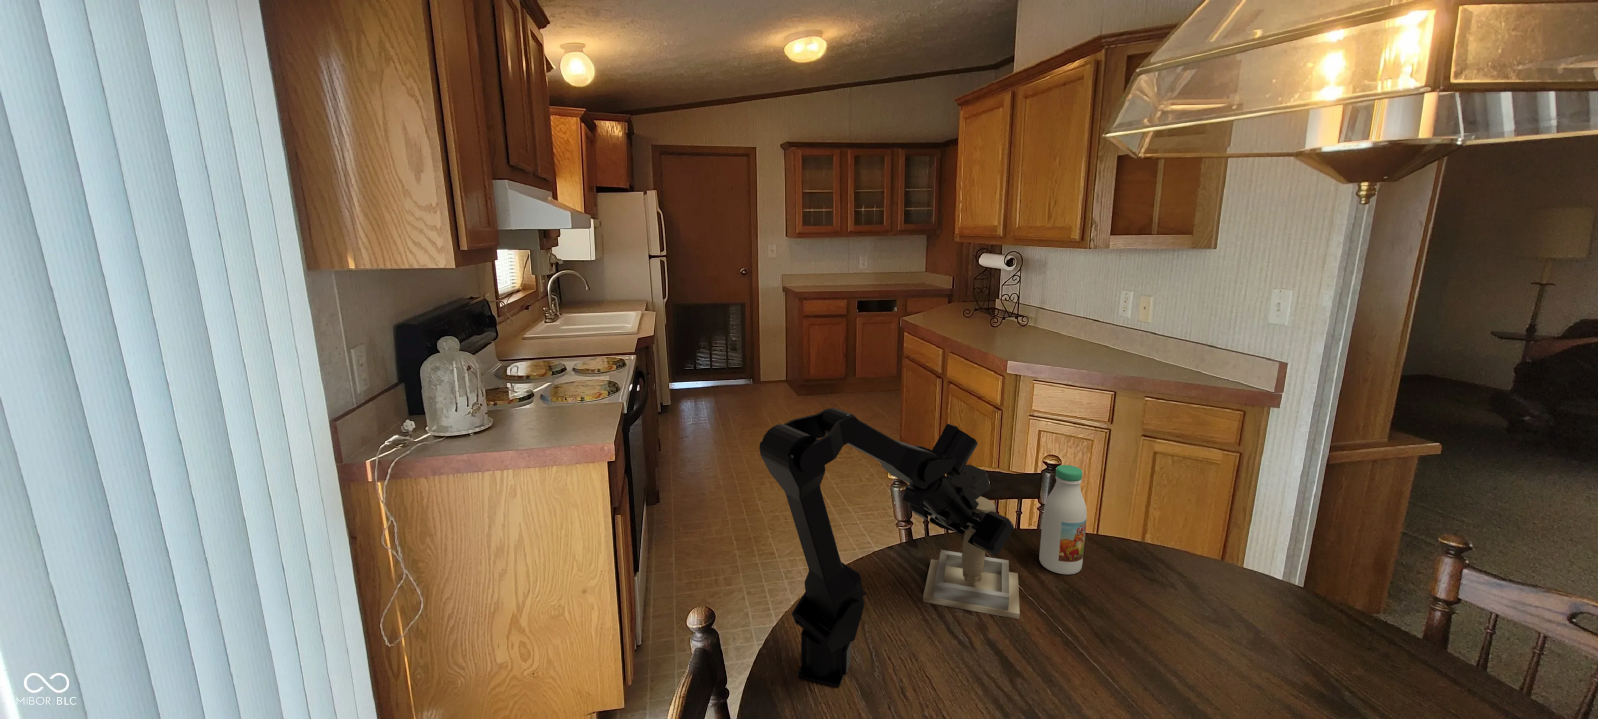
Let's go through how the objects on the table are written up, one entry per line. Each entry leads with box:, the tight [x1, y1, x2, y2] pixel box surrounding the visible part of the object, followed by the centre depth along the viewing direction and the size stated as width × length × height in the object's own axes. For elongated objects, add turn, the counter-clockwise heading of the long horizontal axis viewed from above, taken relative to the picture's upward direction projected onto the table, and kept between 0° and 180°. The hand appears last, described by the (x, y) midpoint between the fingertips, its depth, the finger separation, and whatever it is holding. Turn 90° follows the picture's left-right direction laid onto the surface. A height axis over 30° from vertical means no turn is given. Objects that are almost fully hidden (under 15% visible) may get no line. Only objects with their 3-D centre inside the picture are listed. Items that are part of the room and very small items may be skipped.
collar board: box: [922, 549, 1021, 620], centre depth 111 cm, size 16×13×4 cm
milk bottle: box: [1038, 464, 1088, 575], centre depth 117 cm, size 8×8×20 cm
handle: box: [961, 495, 996, 583], centre depth 109 cm, size 5×6×15 cm
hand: (979, 538), depth 110 cm, fingers closed on handle, 5 cm apart
